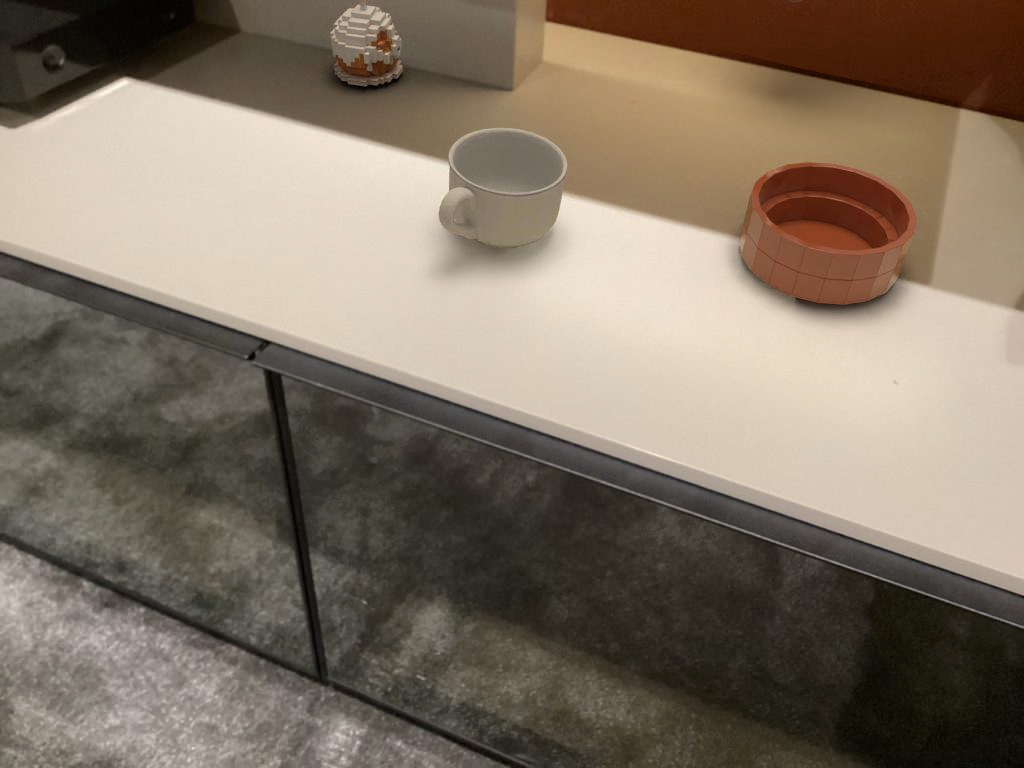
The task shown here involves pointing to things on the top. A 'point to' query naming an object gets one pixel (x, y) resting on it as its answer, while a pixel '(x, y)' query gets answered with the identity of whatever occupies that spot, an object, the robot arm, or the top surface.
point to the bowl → (826, 232)
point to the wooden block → (795, 1)
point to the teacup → (503, 187)
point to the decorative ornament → (366, 46)
